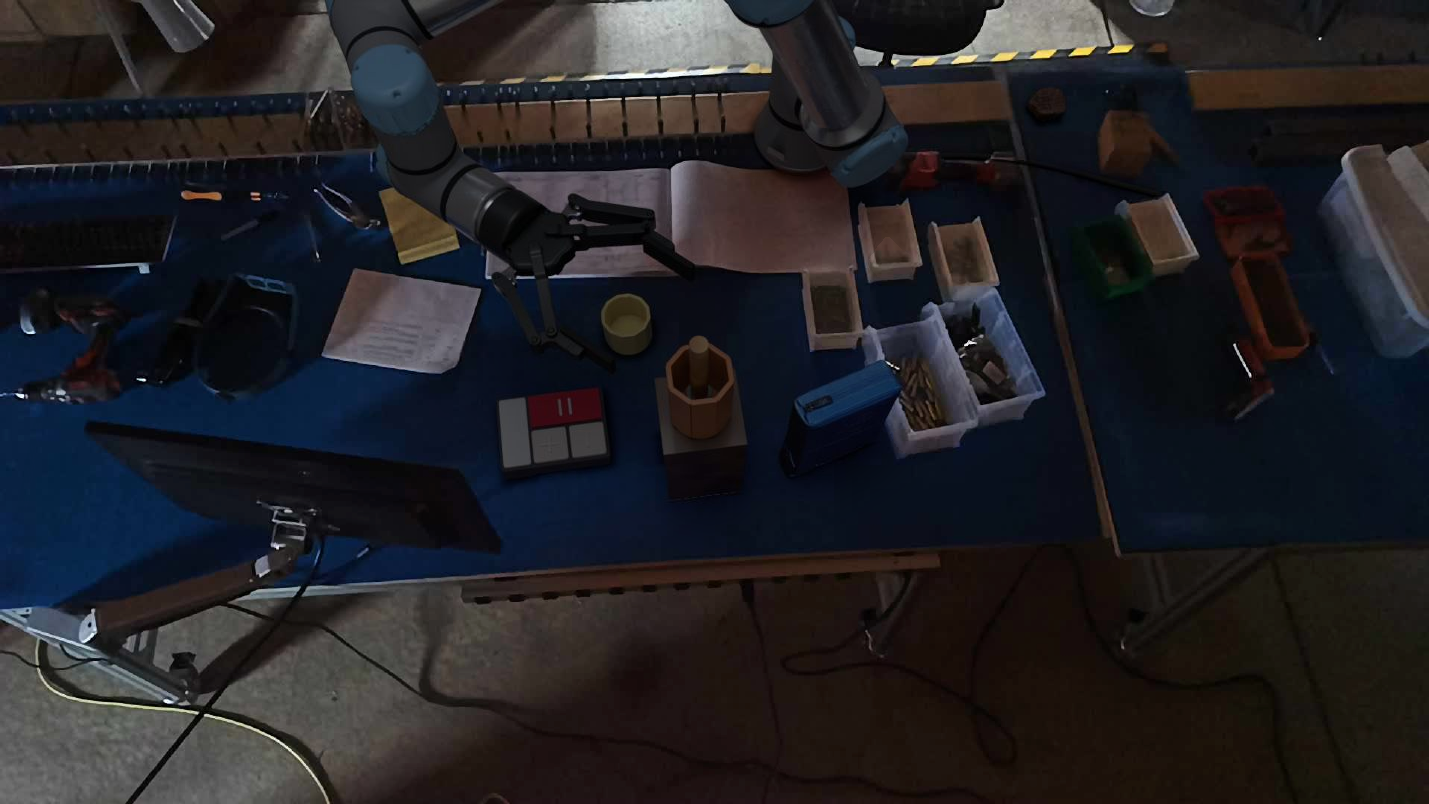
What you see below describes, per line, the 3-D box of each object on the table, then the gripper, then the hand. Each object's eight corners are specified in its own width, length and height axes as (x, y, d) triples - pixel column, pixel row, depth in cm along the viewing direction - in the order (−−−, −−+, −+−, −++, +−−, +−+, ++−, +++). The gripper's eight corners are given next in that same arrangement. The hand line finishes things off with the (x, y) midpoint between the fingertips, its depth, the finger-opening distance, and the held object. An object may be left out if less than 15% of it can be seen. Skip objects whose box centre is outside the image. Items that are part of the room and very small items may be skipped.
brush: (710, 396, 101) (711, 329, 86) (713, 419, 100) (715, 355, 84) (685, 399, 101) (682, 332, 85) (688, 422, 100) (685, 359, 84)
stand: (730, 427, 122) (735, 368, 103) (740, 493, 118) (747, 444, 100) (661, 436, 121) (654, 378, 103) (669, 503, 117) (663, 455, 99)
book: (789, 485, 119) (805, 434, 100) (772, 452, 120) (784, 396, 102) (878, 444, 121) (909, 387, 103) (860, 413, 123) (887, 352, 105)
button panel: (610, 455, 116) (499, 470, 114) (612, 465, 120) (505, 480, 118) (601, 383, 120) (494, 396, 118) (603, 395, 124) (499, 408, 122)
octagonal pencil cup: (725, 379, 103) (728, 339, 93) (734, 434, 100) (737, 399, 90) (666, 387, 102) (663, 347, 93) (673, 442, 100) (670, 407, 90)
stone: (1027, 126, 144) (1034, 113, 141) (1019, 93, 147) (1026, 80, 144) (1065, 125, 144) (1073, 112, 141) (1056, 93, 147) (1064, 79, 144)
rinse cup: (649, 311, 129) (647, 291, 124) (654, 352, 126) (652, 333, 121) (603, 316, 129) (599, 296, 123) (607, 357, 126) (603, 339, 120)
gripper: (577, 165, 100) (723, 256, 95) (431, 315, 92) (582, 422, 87) (567, 121, 93) (724, 216, 88) (408, 279, 85) (572, 393, 80)
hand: (654, 319), depth 88 cm, fingers open, 13 cm apart
